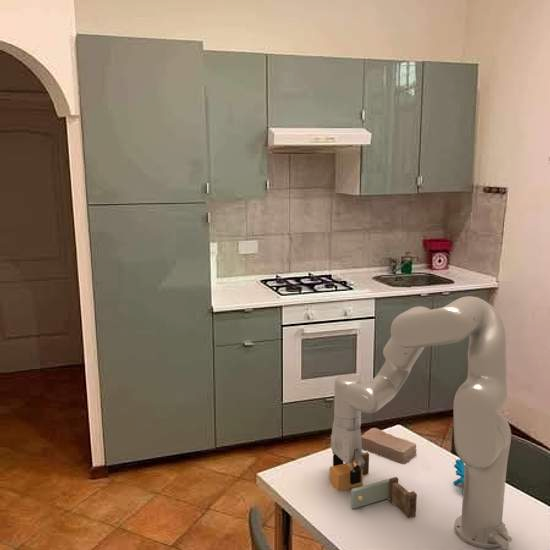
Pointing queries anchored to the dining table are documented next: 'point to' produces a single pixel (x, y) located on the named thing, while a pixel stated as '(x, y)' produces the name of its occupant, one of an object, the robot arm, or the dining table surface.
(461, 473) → the blue green toy
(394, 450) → the brick
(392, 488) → the wall frame
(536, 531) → the dining table surface
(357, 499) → the door
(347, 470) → the orange rectangular block
